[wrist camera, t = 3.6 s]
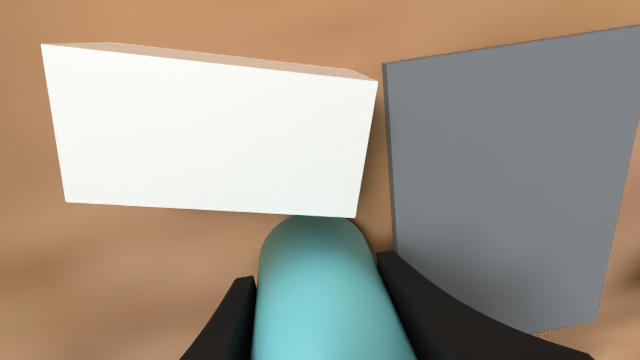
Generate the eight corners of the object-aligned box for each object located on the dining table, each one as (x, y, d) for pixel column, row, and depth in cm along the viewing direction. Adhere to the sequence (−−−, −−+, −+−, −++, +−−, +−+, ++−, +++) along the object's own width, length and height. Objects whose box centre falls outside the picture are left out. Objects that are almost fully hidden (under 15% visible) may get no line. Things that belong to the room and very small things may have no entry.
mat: (585, 313, 19) (595, 321, 18) (400, 348, 18) (403, 358, 18) (643, 23, 13) (659, 23, 13) (381, 63, 13) (386, 64, 12)
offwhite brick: (350, 69, 13) (378, 81, 9) (335, 171, 14) (355, 217, 11) (115, 42, 12) (41, 43, 8) (125, 156, 13) (65, 201, 10)
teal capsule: (372, 294, 15) (442, 482, 9) (270, 312, 15) (264, 520, 8) (363, 202, 14) (440, 351, 7) (248, 222, 13) (220, 394, 7)
